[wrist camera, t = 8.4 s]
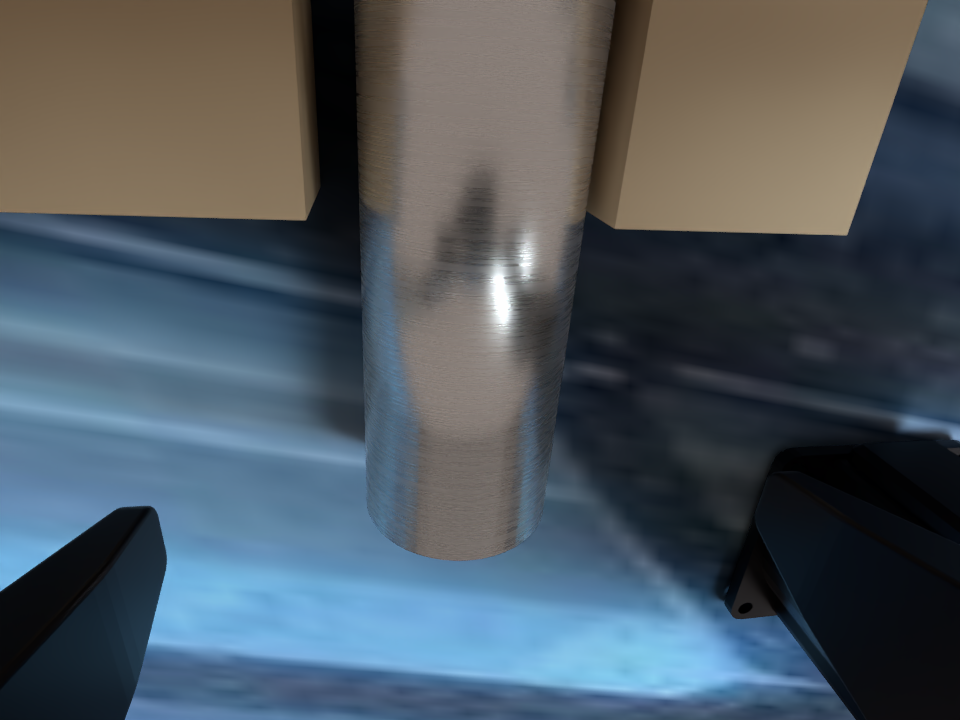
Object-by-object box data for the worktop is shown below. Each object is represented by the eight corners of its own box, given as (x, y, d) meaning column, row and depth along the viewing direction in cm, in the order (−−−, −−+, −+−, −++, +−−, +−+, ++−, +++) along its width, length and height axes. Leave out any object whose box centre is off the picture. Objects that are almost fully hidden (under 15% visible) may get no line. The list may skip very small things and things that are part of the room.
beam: (750, 202, 13) (846, 235, 10) (68, 177, 11) (-33, 211, 8) (838, -131, 11) (997, -200, 8) (-38, -271, 8) (-239, -442, 5)
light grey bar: (509, 437, 15) (572, 542, 12) (357, 454, 14) (379, 576, 11) (568, -131, 10) (709, -229, 7) (337, -175, 9) (367, -320, 6)
